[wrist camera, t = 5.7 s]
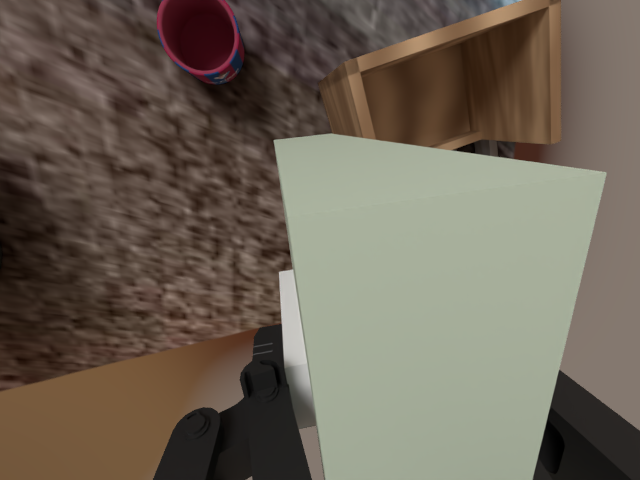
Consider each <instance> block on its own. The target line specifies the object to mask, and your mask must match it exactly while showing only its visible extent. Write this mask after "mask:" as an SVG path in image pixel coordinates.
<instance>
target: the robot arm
mask: <svg viewBox="0 0 640 480" xmlns="http://www.w3.org/2000/svg"><path fill="white" fill-rule="evenodd" d="M1 263H2V251H1V246H0V267H1ZM279 279H280V297H281V315H282V324H279V325H273V326H267V327H262V328H259V330H258V332H257V333H256V335H255V336H254V348H253V359H252V362H250V363H249V364H248V365H247V366H245V368H244V369H243V371H242V372H241V376H240V382H241V386H242V390H243V394H244V398H243V399H242V400H241V401H240V402H238V404H236V405H234V406H232V407H231V408H229V409H227V410H224V411H222V412H220V413H218V412H217V411H216V410H214V409H212V408H204V407H203V408H200V409H196V410H194V411H192V412H190V413H188V414H187V415H185V416H184V417H183V418H182V419H181V420H180V421H179V422H178V423H177V425H176V427H175V428H174V430H173V432H172V434H171V437H170V439H169V442H168V444H167V447H166V449H165V451H164V454H163V456H162V459H161V461H160V464H159V466H158V468H157V471H156V473H155V476H154V478H153V480H246V479H248V478H249V477H251V476H252V478H253V480H312V478H311V474H310V471H309V467H308V463H307V459H306V455H305V452H304V448H303V444H302V440H301V437H300V433H299V429H302V428H307V427H311V426H316V419H315V412H314V405H313V399H312V392H311V385H310V378H309V372H308V365H307V358H306V352H305V345H304V338H303V332H302V325H301V319H300V312H299V306H298V299H297V292H296V286H295V279H294V273H293V270H289V271H282V272H279ZM533 480H640V431H639V430H638V429H636V428H635V427H634V426H633V425H631V424H630V423H629V422H627V421H626V420H625V419H623V418H622V417H621V416H620V415H618V414H617V413H616V412H614V411H613V410H612V409H610V408H609V407H608V406H606V405H605V404H604V403H602V402H601V401H600V400H599V399H597V398H596V397H595V396H593V395H592V394H591V393H589V392H588V391H587V390H585V389H584V388H583V387H581V386H580V385H579V384H577V383H576V382H575V381H573V380H572V379H571V378H570V377H568V376H567V375H565V374H564V373H563V372H562V371H560V370H559V372H558V376H557V380H556V385H555V389H554V393H553V397H552V401H551V405H550V409H549V413H548V418H547V422H546V426H545V430H544V434H543V438H542V442H541V446H540V451H539V455H538V459H537V463H536V467H535V471H534V475H533Z"/></svg>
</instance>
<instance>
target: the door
mask: <svg viewBox="0 0 640 480" xmlns="http://www.w3.org/2000/svg"><path fill="white" fill-rule="evenodd" d="M274 145H275V152H276V159H277V165H278V172H279V179H280V186H281V192H282V199H283V206H284V213H285V219H286V226H287V233H288V240H289V246H290V253H291V260H292V266H293V273H294V279H295V286H296V292H297V299H298V306H299V312H300V319H301V325H302V332H303V338H304V345H305V352H306V358H307V365H308V372H309V378H310V385H311V392H312V399H313V405H314V412H315V419H316V427H317V433H318V441H319V447H320V453H321V461H322V466H323V473H324V480H533V475H534V471H535V467H536V463H537V459H538V455H539V451H540V446H541V442H542V438H543V434H544V430H545V426H546V422H547V418H548V413H549V409H550V405H551V401H552V397H553V393H554V389H555V385H556V380H557V376H558V372H559V368H560V364H561V360H562V356H563V351H564V347H565V343H566V339H567V334H568V330H569V326H570V323H571V318H572V314H573V310H574V306H575V302H576V298H577V294H578V290H579V285H580V281H581V277H582V273H583V269H584V265H585V261H586V256H587V252H588V248H589V244H590V240H591V236H592V232H593V228H594V223H595V219H596V215H597V211H598V207H599V203H600V199H601V195H602V190H603V186H604V182H605V177H606V174H607V173H606V172H600V171H593V170H586V169H578V168H572V167H565V166H557V165H551V164H543V163H536V162H529V161H521V160H515V159H508V158H501V157H494V156H487V155H480V154H473V153H465V152H458V151H451V150H444V149H437V148H430V147H423V146H416V145H409V144H402V143H395V142H387V141H380V140H373V139H366V138H359V137H352V136H345V135H338V134H324V135H315V136H306V137H297V138H288V139H280V140H274Z"/></svg>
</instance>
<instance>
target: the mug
mask: <svg viewBox="0 0 640 480" xmlns="http://www.w3.org/2000/svg"><path fill="white" fill-rule="evenodd" d="M157 30H158V35H159V38H160V41H161V44H162V46H163V48H164V50H165V51H166V53H167V54H168V56H169V57H170V58H171V59H172V60H173V61H174V62H175V63H176V64H177V65H178V66H179V67H181V68H182V69H183V70H185V71H187V72H188V73H190V74H191V75H193V76H194V77H196V78H197V79H199V80H201V81H203V82H205V83H208V84H214V85H218V84H224V83H227V82H229V81H231V80H232V79H233V78H235V77H236V76H237V74H238V73H239V72H240V70H241V68H242V65H243V61H244V45H243V41H242V38H241V35H240V31H239V28H238V24H237V21H236V18H235V16H234V14H233V11H232V10H231V8H230V7H229V5H228V4H227V3H226V1H225V0H162V2H161V4H160V6H159V10H158V14H157Z"/></svg>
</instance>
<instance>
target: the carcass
mask: <svg viewBox="0 0 640 480" xmlns="http://www.w3.org/2000/svg"><path fill="white" fill-rule="evenodd" d="M318 85H319V89H320V92H321V96H322V99H323V103H324V106H325V110H326V113H327V117H328V120H329V124H330V127H331V131H332V134H338V135H345V136H352V137H359V138H366V139H373V140H380V141H387V142H395V143H402V144H409V145H416V146H423V147H430V148H437V149H444V150H453V149H456V148H459V147H462V146H464V145H467V144H470V143H473V142H474V145H475V154H480V155H487V156H494V157H498V150H497V141H511V142H525V143H539V144H554V143H556V142H559V141H561V0H522V1H519V2H516V3H513V4H511V5H508V6H505V7H502V8H499V9H496V10H493V11H490V12H487V13H485V14H482V15H479V16H476V17H473V18H470V19H467V20H464V21H461V22H459V23H456V24H453V25H450V26H447V27H444V28H441V29H438V30H435V31H432V32H430V33H427V34H424V35H421V36H418V37H415V38H412V39H409V40H406V41H404V42H401V43H398V44H395V45H392V46H389V47H386V48H383V49H380V50H378V51H375V52H372V53H369V54H366V55H363V56H360V57H357V58H354V59H351V60H349V61H346V62H344V63H342V64H341V65H340V66H339V67H337V68H336V69H335V70H334V71H332V72H331V73H330V74H329V75H328V76H326V77H325V78H324V79H323V80H321V81H320V82H319V83H318Z"/></svg>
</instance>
